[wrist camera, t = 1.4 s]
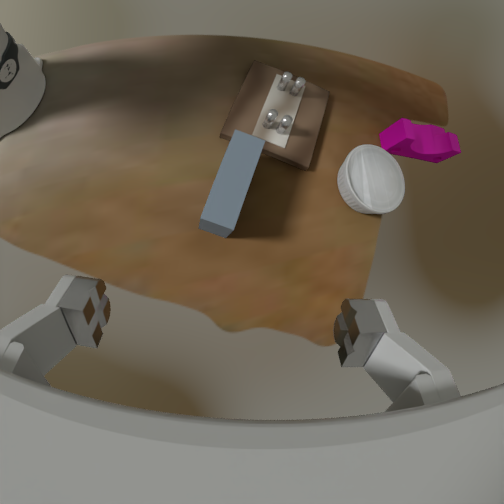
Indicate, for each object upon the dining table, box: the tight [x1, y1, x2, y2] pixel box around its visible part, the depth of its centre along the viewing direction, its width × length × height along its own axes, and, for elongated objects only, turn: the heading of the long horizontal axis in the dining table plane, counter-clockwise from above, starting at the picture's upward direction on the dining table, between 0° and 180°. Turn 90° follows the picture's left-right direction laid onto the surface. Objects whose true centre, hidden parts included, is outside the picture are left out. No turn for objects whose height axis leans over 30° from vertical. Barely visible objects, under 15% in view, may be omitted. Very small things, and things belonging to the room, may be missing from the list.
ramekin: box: [337, 144, 405, 214], centre depth 45 cm, size 11×11×5 cm
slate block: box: [199, 129, 265, 238], centre depth 39 cm, size 4×12×8 cm, turn 162°
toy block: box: [379, 118, 461, 163], centre depth 47 cm, size 15×6×8 cm, turn 93°
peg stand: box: [220, 60, 330, 171], centre depth 42 cm, size 14×16×6 cm
